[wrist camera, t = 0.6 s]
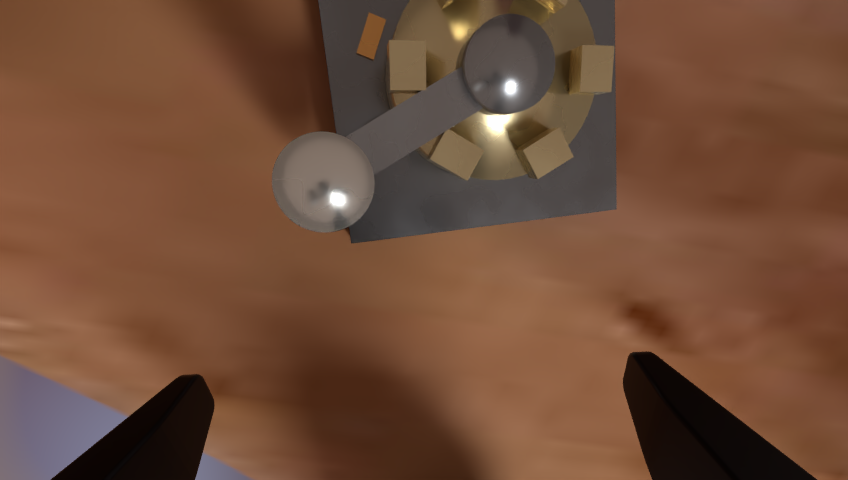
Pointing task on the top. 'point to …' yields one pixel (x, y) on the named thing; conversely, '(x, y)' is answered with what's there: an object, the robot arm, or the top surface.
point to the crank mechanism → (457, 104)
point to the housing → (438, 189)
